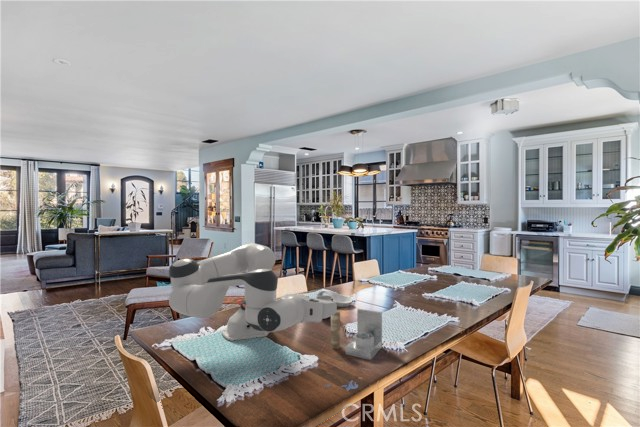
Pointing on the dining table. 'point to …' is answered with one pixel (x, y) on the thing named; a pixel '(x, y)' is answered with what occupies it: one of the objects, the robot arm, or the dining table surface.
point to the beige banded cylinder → (335, 330)
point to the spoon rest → (337, 298)
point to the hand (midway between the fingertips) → (318, 300)
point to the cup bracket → (366, 335)
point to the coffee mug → (325, 297)
